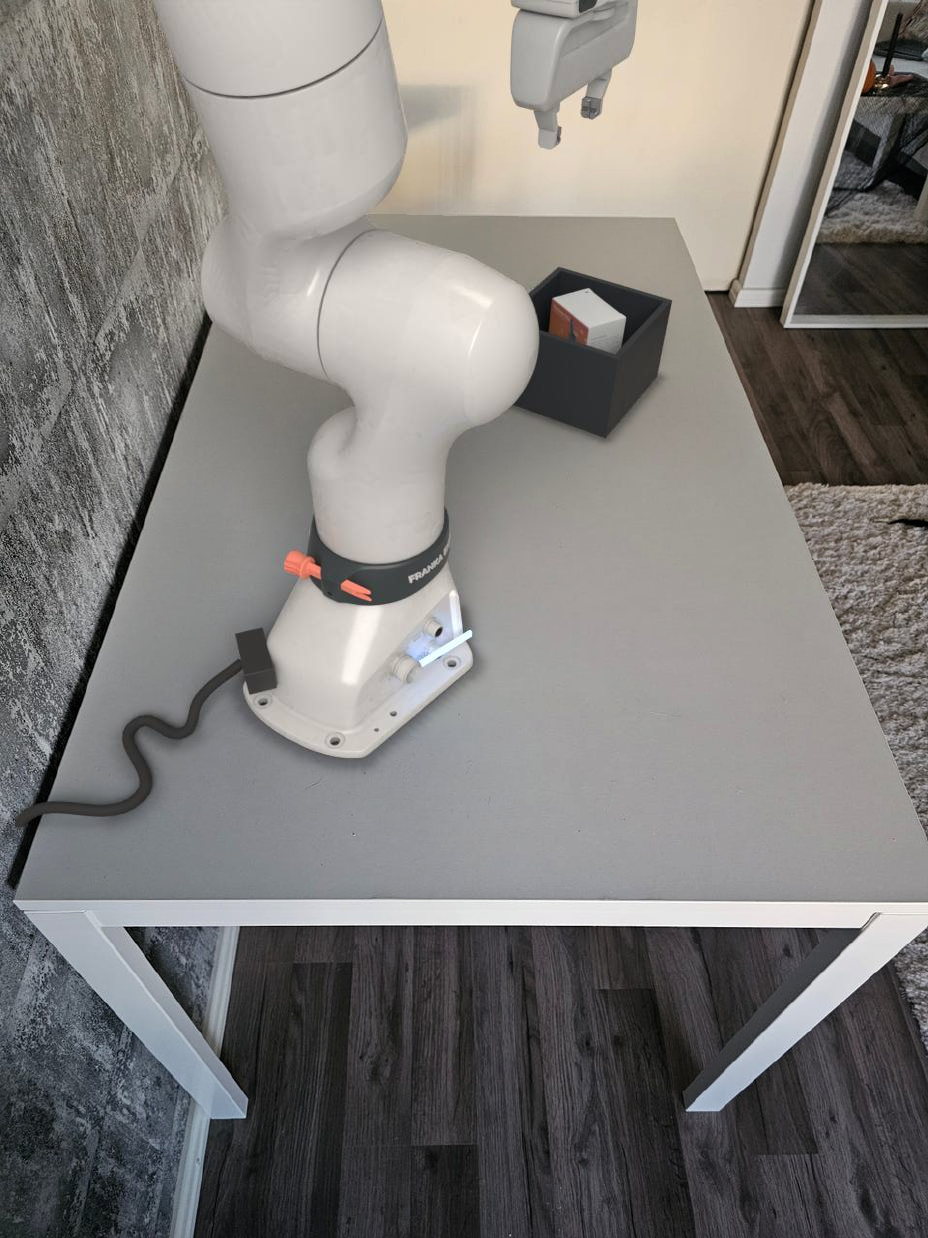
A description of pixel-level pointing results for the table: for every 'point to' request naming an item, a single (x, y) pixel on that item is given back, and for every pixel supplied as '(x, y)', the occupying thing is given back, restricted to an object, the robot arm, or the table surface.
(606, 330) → the small box
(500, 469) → the table surface
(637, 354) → the trash bin
